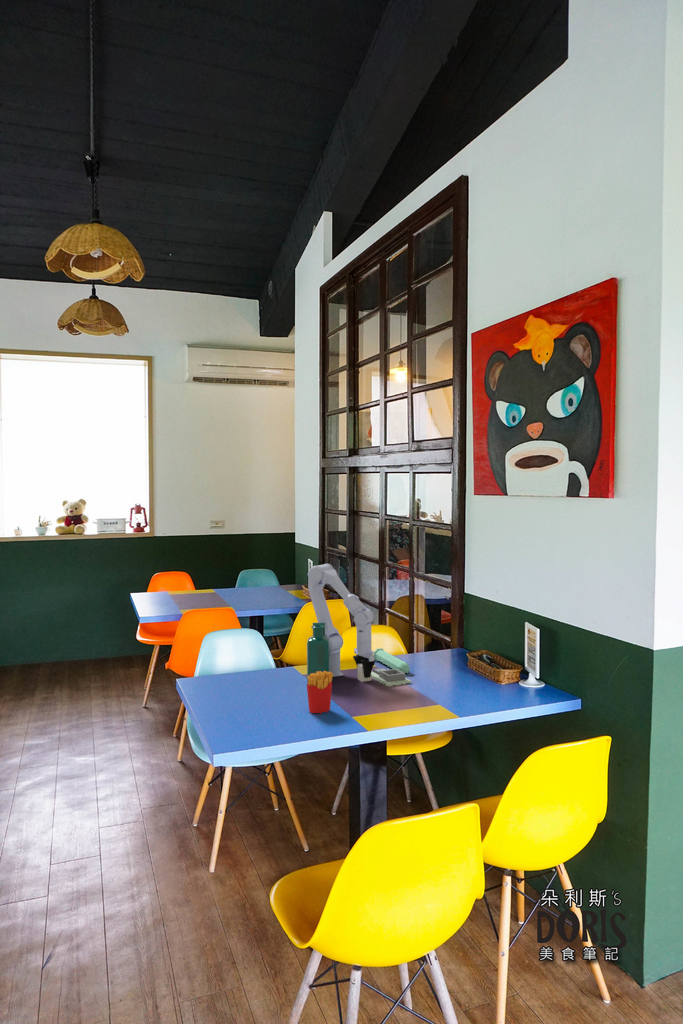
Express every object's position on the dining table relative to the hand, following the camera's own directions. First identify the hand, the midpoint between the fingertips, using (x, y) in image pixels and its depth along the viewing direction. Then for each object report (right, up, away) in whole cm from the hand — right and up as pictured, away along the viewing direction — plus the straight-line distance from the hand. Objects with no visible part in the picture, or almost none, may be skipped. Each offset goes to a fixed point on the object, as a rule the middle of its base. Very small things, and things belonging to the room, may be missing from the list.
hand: (364, 675), depth 266 cm
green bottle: (-18, -2, -2) cm, 18 cm away
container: (+12, -1, +18) cm, 22 cm away
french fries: (-16, -3, -37) cm, 40 cm away
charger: (0, -2, 0) cm, 2 cm away
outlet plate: (+9, -2, +1) cm, 10 cm away
